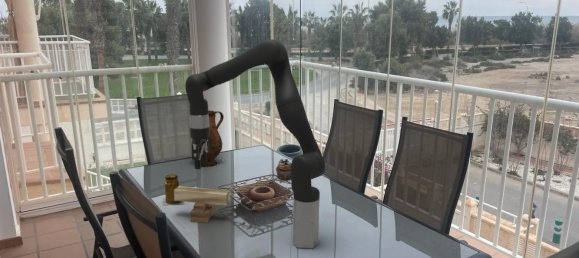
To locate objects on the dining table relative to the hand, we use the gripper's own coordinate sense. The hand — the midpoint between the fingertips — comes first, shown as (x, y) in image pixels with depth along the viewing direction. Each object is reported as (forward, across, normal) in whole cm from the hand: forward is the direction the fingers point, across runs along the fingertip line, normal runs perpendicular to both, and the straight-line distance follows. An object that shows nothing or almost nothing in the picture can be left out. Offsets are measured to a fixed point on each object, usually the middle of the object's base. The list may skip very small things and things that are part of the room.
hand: (201, 165), depth 170 cm
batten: (+15, 0, 0) cm, 15 cm away
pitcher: (+22, +70, +17) cm, 75 cm away
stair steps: (+22, 0, 0) cm, 22 cm away
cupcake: (+22, +51, -28) cm, 62 cm away
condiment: (+22, +14, +17) cm, 31 cm away
